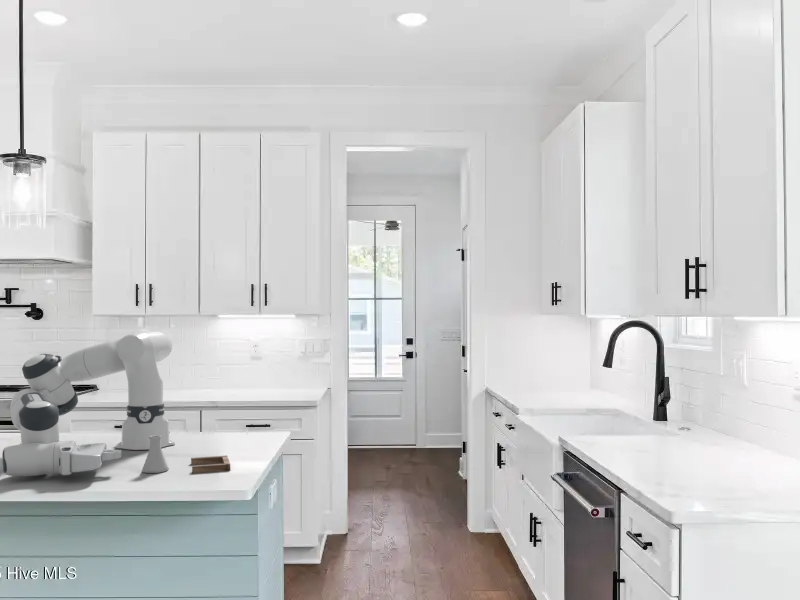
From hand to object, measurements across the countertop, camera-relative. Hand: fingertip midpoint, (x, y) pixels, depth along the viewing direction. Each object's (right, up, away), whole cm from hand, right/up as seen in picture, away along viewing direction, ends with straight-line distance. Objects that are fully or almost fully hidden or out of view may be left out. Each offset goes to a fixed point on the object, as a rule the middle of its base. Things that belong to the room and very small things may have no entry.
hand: (121, 454), depth 199 cm
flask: (+9, -6, +3) cm, 11 cm away
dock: (+23, -5, +7) cm, 25 cm away
